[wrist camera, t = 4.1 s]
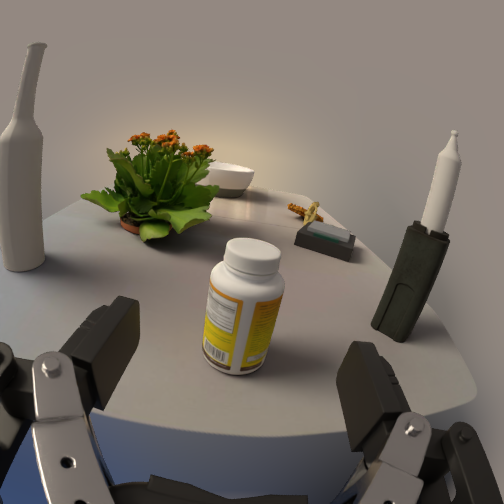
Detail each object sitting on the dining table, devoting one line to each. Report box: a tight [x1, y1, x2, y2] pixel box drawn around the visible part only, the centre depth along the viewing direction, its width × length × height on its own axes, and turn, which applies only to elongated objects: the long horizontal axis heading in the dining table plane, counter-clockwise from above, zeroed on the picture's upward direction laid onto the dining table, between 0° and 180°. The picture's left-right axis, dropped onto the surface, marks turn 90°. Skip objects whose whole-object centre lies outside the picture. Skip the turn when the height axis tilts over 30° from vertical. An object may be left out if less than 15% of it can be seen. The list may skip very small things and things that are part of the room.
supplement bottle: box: [202, 238, 285, 375], centre depth 23 cm, size 6×6×10 cm
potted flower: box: [81, 130, 220, 242], centre depth 47 cm, size 25×24×18 cm
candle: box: [371, 130, 461, 342], centre depth 28 cm, size 5×5×25 cm
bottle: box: [0, 42, 47, 272], centre depth 25 cm, size 7×7×28 cm
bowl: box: [195, 161, 254, 197], centre depth 89 cm, size 22×22×8 cm
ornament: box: [287, 202, 323, 225], centre depth 72 cm, size 7×10×15 cm
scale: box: [294, 220, 356, 262], centre depth 58 cm, size 11×11×3 cm
